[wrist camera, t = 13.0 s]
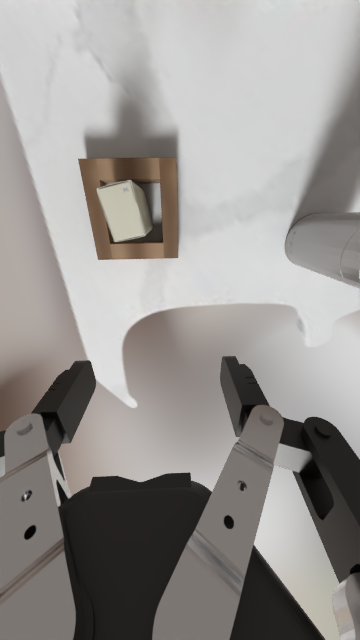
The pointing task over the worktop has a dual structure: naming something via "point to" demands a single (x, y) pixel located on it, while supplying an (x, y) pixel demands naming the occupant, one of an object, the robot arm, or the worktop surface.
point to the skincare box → (125, 210)
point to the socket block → (138, 172)
